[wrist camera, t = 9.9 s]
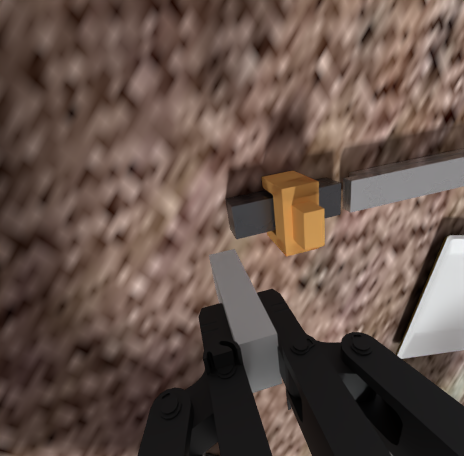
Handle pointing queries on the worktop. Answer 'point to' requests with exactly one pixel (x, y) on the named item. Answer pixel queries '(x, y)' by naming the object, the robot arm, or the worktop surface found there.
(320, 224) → the orange stepped block
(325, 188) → the base
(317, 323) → the worktop surface
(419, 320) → the plate
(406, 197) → the bar
